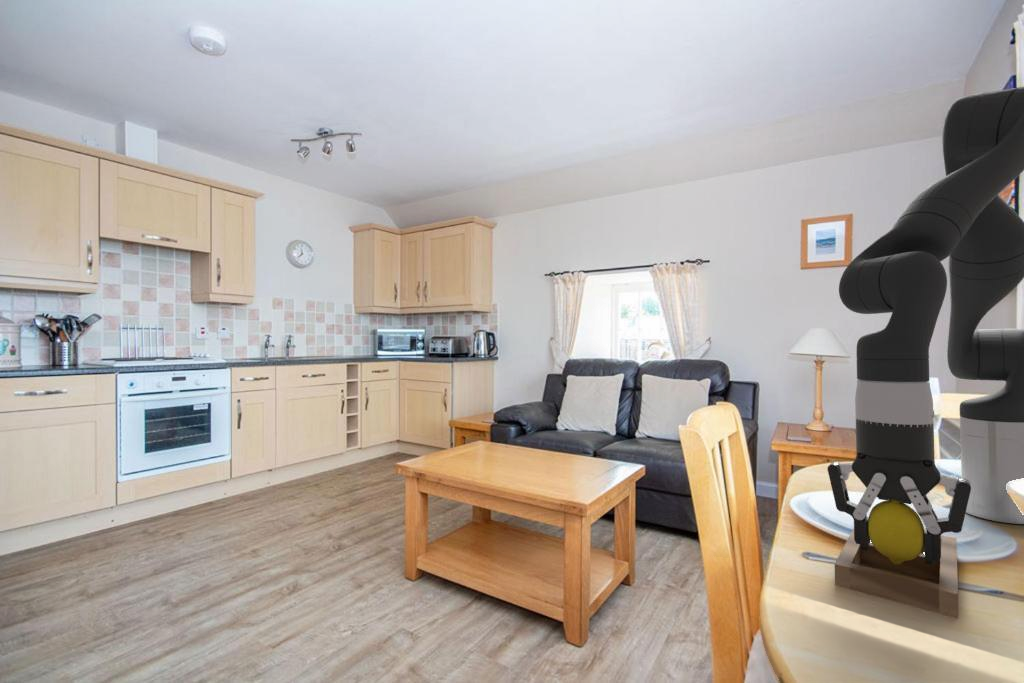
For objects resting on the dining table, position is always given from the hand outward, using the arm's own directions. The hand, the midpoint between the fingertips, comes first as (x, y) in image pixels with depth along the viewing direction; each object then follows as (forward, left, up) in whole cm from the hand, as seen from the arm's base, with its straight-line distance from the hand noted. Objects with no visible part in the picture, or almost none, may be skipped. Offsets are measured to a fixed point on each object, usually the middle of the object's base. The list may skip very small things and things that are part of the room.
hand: (896, 554), depth 59 cm
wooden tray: (-4, -2, -5) cm, 7 cm away
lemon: (0, 0, -1) cm, 1 cm away
